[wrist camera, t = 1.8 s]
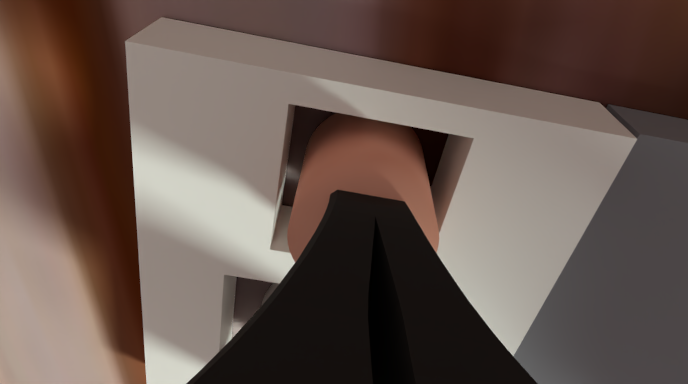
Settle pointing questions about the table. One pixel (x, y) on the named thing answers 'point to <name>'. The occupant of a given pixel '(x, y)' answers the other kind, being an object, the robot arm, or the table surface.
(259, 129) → the white plate with holes
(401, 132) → the peach rounded piece
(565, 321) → the pad
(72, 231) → the table surface
